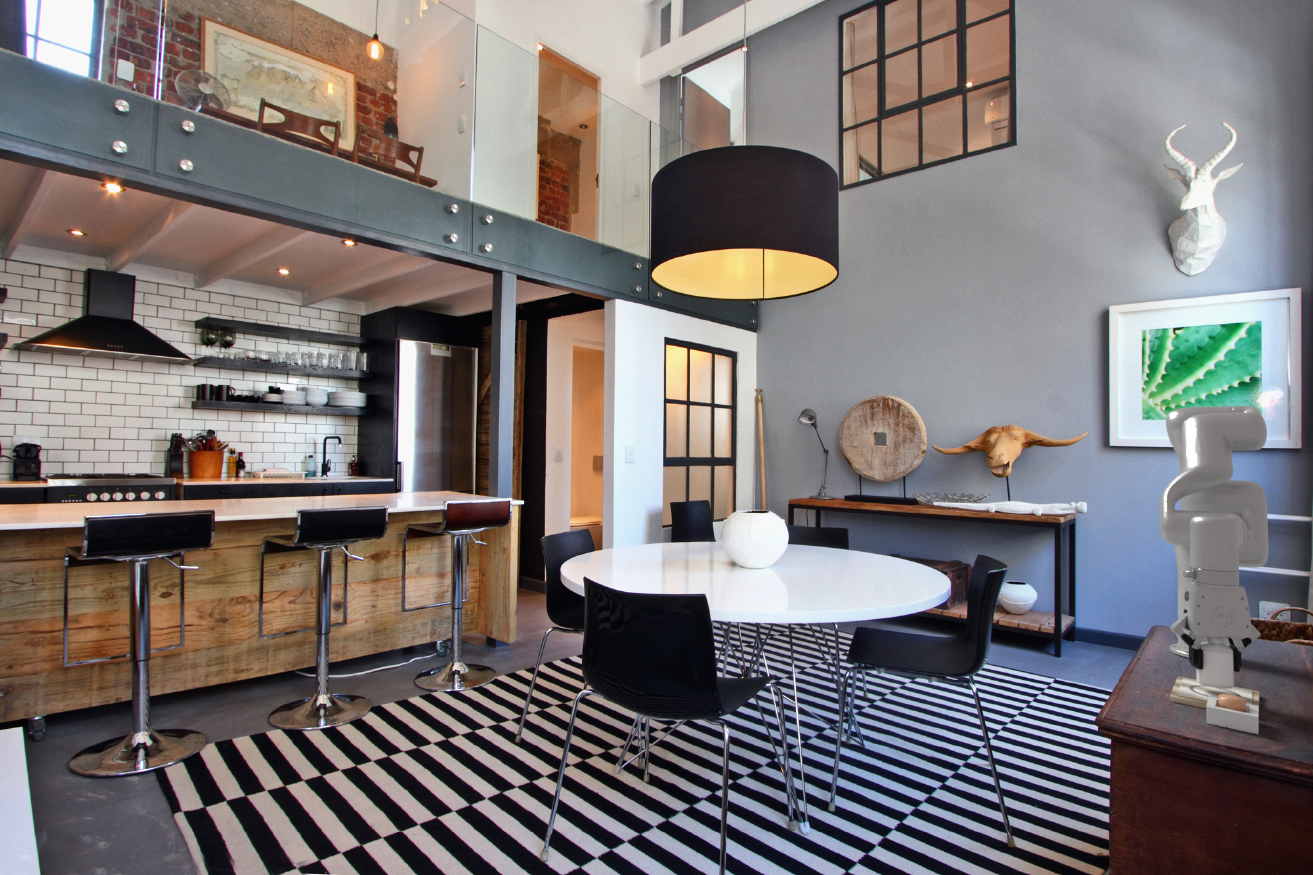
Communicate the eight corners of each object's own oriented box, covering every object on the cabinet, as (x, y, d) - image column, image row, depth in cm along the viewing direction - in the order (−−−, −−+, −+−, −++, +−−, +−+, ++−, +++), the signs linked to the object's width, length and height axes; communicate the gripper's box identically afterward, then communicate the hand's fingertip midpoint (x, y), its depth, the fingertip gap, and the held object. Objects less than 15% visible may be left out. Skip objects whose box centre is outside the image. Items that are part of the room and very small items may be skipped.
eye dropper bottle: (1230, 691, 130) (1229, 629, 131) (1194, 683, 135) (1193, 623, 135) (1236, 687, 133) (1235, 626, 133) (1200, 679, 138) (1199, 620, 138)
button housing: (1208, 712, 127) (1208, 696, 127) (1258, 722, 122) (1258, 705, 122) (1206, 723, 121) (1206, 706, 122) (1258, 734, 117) (1258, 716, 117)
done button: (1219, 704, 124) (1219, 692, 125) (1246, 710, 122) (1246, 697, 122) (1218, 710, 122) (1218, 697, 122) (1246, 716, 119) (1246, 703, 119)
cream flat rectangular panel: (1177, 680, 144) (1177, 674, 144) (1259, 696, 135) (1259, 689, 135) (1169, 701, 132) (1169, 694, 132) (1258, 719, 123) (1258, 712, 124)
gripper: (1175, 579, 132) (1175, 671, 132) (1277, 583, 129) (1278, 678, 129) (1155, 572, 140) (1156, 659, 140) (1252, 576, 136) (1252, 666, 136)
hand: (1214, 667), depth 134 cm, fingers closed on eye dropper bottle, 5 cm apart
